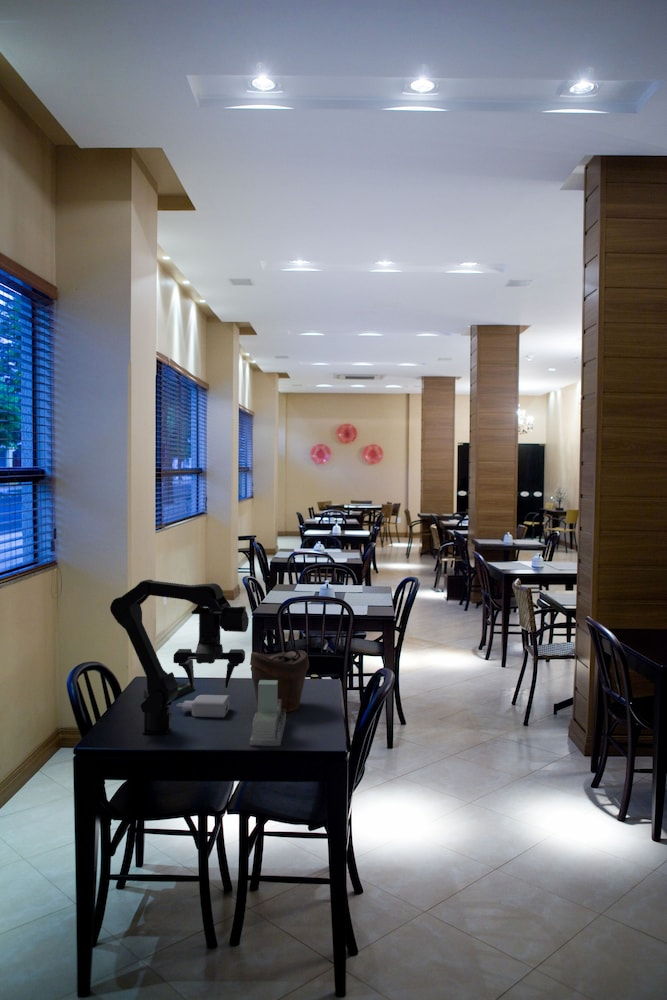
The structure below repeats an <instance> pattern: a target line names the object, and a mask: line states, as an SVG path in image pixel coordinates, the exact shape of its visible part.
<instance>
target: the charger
mask: <svg viewBox="0 0 667 1000" xmlns="http://www.w3.org/2000/svg"><path fill="white" fill-rule="evenodd" d="M175 706H176V707H181V710H182V711H191V716H193V717H194V718H196V717H197V718H225V716H226V715H227V714H228V713H229V710H230V695H229V694H228V695H224V694H223V695H222V694H200V695H197V696H196V697H195V698H194V700H183V703H181V702H180V703H179V702H178V703H177V704H176V705H175Z"/></svg>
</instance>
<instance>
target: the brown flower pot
mask: <svg viewBox="0 0 667 1000" xmlns="http://www.w3.org/2000/svg"><path fill="white" fill-rule="evenodd" d="M249 665H250V666H251V667H250V671H251V676H252V684H253V687H254V695H255V698H256V699H255V700H256V705H257V706H258V683H259V681H260V680H278V699H282V703H281V713H282V712H283V709H286V713H288V712H294V711H296V710H297V709H299V708H300V706H301V705H300V704H301V699H302V694H303V690H304V685H305V681H306V675H307V671H308V670H309V668H310V660H309V655H308V653H307V652H306V651H305V650H302V649H296V648H291V649H288V650H287V651H284V652H283V651H282V652H278V653H259V652H257V651H256V652H255V651H251V653H250V663H249Z"/></svg>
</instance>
